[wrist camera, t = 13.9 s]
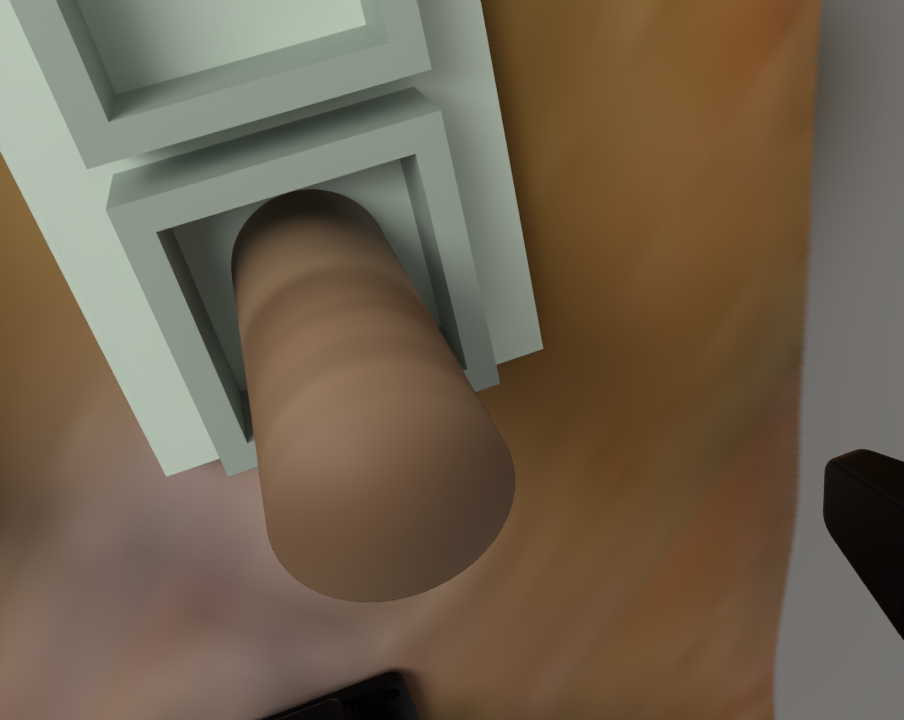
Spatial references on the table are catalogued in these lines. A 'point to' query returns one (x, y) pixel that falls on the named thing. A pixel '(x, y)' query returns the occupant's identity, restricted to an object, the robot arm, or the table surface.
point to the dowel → (359, 408)
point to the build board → (255, 177)
